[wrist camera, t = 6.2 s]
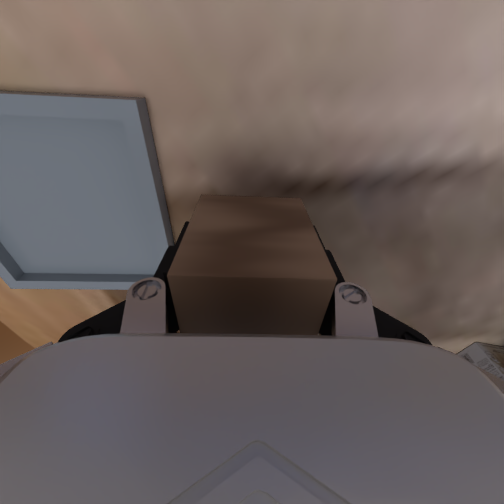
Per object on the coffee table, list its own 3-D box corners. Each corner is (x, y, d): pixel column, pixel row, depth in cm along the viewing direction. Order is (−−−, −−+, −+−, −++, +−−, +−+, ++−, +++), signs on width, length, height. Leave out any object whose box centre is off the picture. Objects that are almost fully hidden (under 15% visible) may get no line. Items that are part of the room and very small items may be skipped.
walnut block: (300, 198, 12) (337, 279, 7) (287, 272, 15) (306, 366, 10) (201, 194, 11) (166, 275, 7) (208, 270, 14) (188, 364, 10)
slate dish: (144, 97, 16) (135, 100, 15) (181, 278, 27) (177, 289, 26) (-128, 84, 16) (-166, 85, 14) (23, 277, 27) (10, 288, 25)
